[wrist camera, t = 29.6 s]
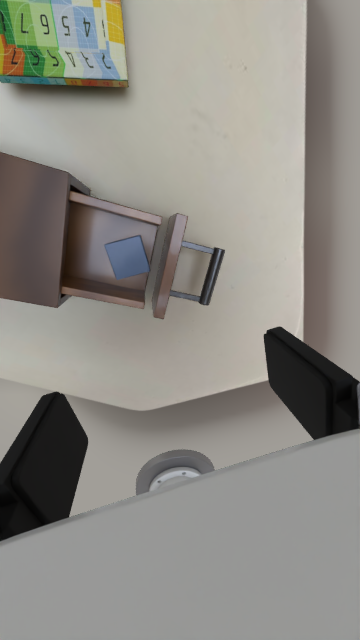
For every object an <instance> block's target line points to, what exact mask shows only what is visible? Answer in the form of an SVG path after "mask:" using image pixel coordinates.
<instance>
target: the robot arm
mask: <svg viewBox="0 0 360 640" xmlns="http://www.w3.org/2000/svg"><path fill="white" fill-rule="evenodd" d="M264 344H265V352H266V361H267V370H268V378H269V383H270V386H271V388H272V389H273V390H274V392H275V393H276V394H277V395H278V397H279V398H280V399H281V400H282V401H283V403H284V404H285V405H286V406H287V407H288V409H289V410H290V411H291V412H292V414H293V415H294V416H295V417H296V418H297V420H298V421H299V422H300V423H301V424H302V426H303V427H304V428H305V429H306V431H307V432H308V433H309V434H310V436H311V437H312V438H313V439H314V440H313V441H310V442H306V443H303V444H300V445H296V446H292V447H289V448H286V449H282V450H279V451H276V452H273V453H270V454H266V455H263V456H260V457H257V458H254V459H250V460H247V461H244V462H241V463H238V464H234V465H231V466H228V467H225V468H221V469H218V470H215V471H212V472H209V473H206V474H201V473H200V472H199V471H197V470H195V469H193V468H189V467H175V468H171V469H168V470H165V471H163V472H162V473H160V474H159V475H157V476H156V477H155V478H154V479H153V481H152V482H151V484H150V488H149V492H146V493H143V494H140V495H136V496H133V497H130V498H127V499H124V500H121V501H118V502H115V503H112V504H109V505H106V506H103V507H100V508H97V509H93V510H90V511H87V512H84V513H81V514H78V515H75V516H72V517H69V514H70V511H71V507H72V503H73V499H74V496H75V492H76V488H77V484H78V480H79V477H80V473H81V469H82V465H83V461H84V458H85V454H86V450H87V446H88V437H87V435H86V433H85V431H84V430H83V428H82V426H81V424H80V422H79V421H78V419H77V417H76V415H75V413H74V412H73V410H72V408H71V406H70V404H69V402H68V401H67V399H66V397H65V395H64V394H60V393H59V392H53V393H50V394H46V395H43V396H42V397H41V399H40V400H39V402H38V404H37V405H36V407H35V408H34V410H33V412H32V413H31V415H30V417H29V418H28V420H27V421H26V423H25V424H24V426H23V428H22V430H21V431H20V433H19V434H18V436H17V437H16V439H15V441H14V442H13V444H12V446H11V447H10V449H9V450H8V452H7V454H6V455H5V457H4V458H3V460H2V461H1V463H0V640H360V382H359V381H358V380H356V379H355V378H353V377H352V376H351V375H350V374H349V373H347V372H346V371H344V370H343V369H341V368H340V367H338V366H337V365H336V364H334V363H333V362H331V361H330V360H328V359H327V358H325V357H324V356H322V355H321V354H319V353H318V352H317V351H315V350H314V349H312V348H311V347H309V346H308V345H307V344H305V343H304V342H302V341H301V340H299V339H298V338H296V337H295V336H294V335H292V334H291V333H289V332H288V331H286V330H285V329H283V328H282V327H276V328H273V329H269V330H267V334H264Z"/></svg>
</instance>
